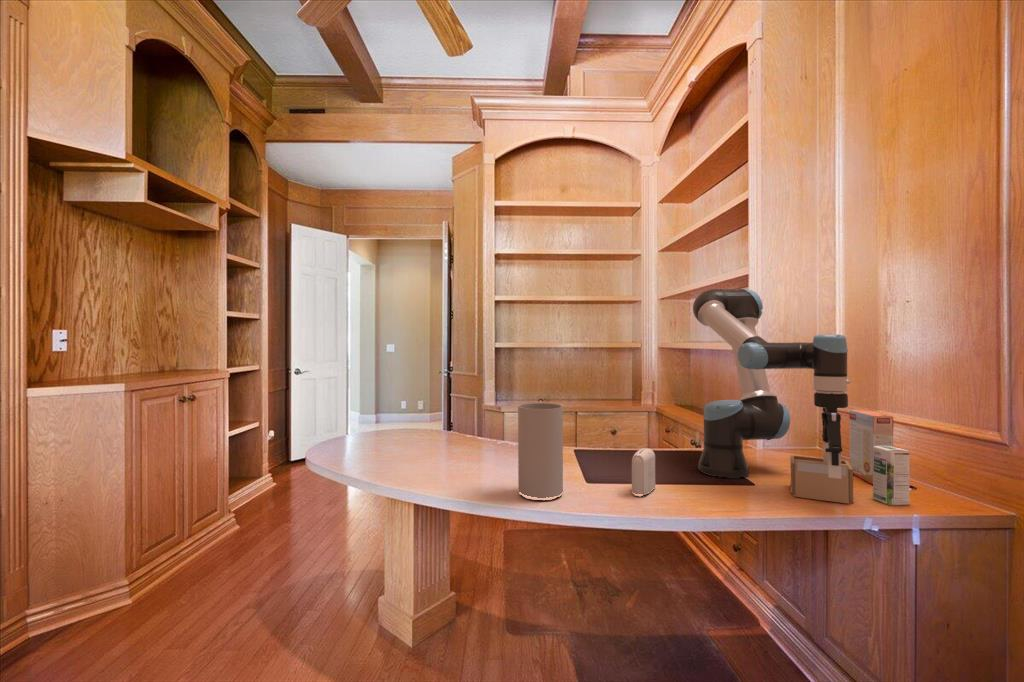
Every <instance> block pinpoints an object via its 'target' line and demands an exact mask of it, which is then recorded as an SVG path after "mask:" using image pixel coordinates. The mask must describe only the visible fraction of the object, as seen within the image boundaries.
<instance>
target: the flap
mask: <svg viewBox="0 0 1024 682" xmlns="http://www.w3.org/2000/svg"><path fill="white" fill-rule="evenodd" d="M794 497H796V498H802V499H803V498H804V499H811V500H818V501H826V502H834V503H839V504H840V503H842V504H848V505H849V504H850V503H849V466H848V464H841V479H838V478H829V477H828V462H819V461H809V460H799V459H795V496H794Z"/></svg>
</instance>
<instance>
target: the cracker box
mask: <svg viewBox="0 0 1024 682" xmlns="http://www.w3.org/2000/svg"><path fill="white" fill-rule="evenodd" d="M894 419H895V417H894V416H893V415H888V414H885V413H881V412H876V411H874V410H869V409H849V464H850V465H851V467H852V469H853V474H854V475H853V476H855V477H856V478H859V479H861V480H862V481H865V482H867V483H869V484H870V483H871V485H872V484H873V447H874V446H892V447H894Z"/></svg>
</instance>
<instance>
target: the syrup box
mask: <svg viewBox="0 0 1024 682" xmlns="http://www.w3.org/2000/svg"><path fill="white" fill-rule="evenodd" d="M910 454H911V453H910V450H907V449H903V448H899V447H894V446H893V447H892V446H874V447H873V485H872V499H873V500H876V501H878V502H881V503H882V504H886V505H888V506H909V505H910V480H911V479H910V466H911V465H910V460H911V459H910V456H911V455H910Z"/></svg>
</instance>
